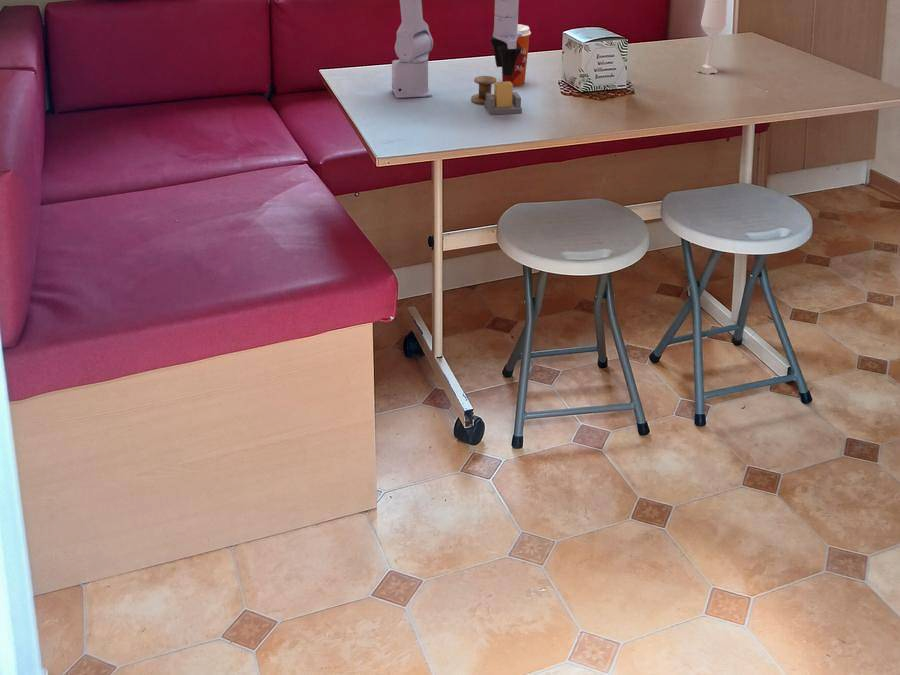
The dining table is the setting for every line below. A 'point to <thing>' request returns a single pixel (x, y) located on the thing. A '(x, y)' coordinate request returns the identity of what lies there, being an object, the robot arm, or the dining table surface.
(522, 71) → the coffee cup
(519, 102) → the grey cradle
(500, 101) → the yellow upright block
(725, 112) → the dining table surface
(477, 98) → the bobbin
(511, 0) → the robot arm
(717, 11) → the champagne flute
